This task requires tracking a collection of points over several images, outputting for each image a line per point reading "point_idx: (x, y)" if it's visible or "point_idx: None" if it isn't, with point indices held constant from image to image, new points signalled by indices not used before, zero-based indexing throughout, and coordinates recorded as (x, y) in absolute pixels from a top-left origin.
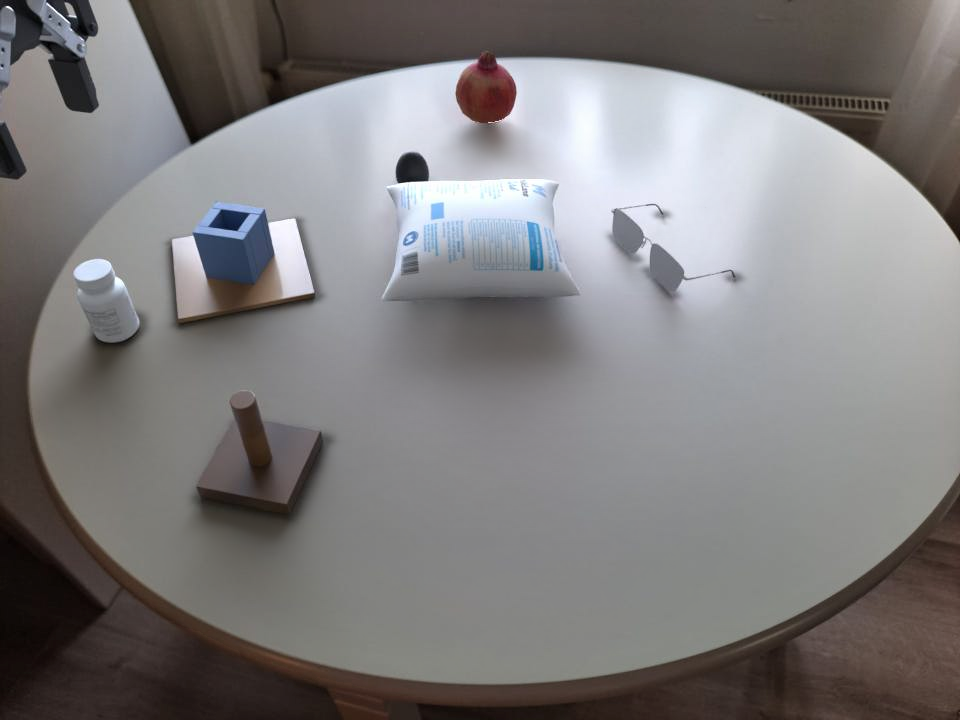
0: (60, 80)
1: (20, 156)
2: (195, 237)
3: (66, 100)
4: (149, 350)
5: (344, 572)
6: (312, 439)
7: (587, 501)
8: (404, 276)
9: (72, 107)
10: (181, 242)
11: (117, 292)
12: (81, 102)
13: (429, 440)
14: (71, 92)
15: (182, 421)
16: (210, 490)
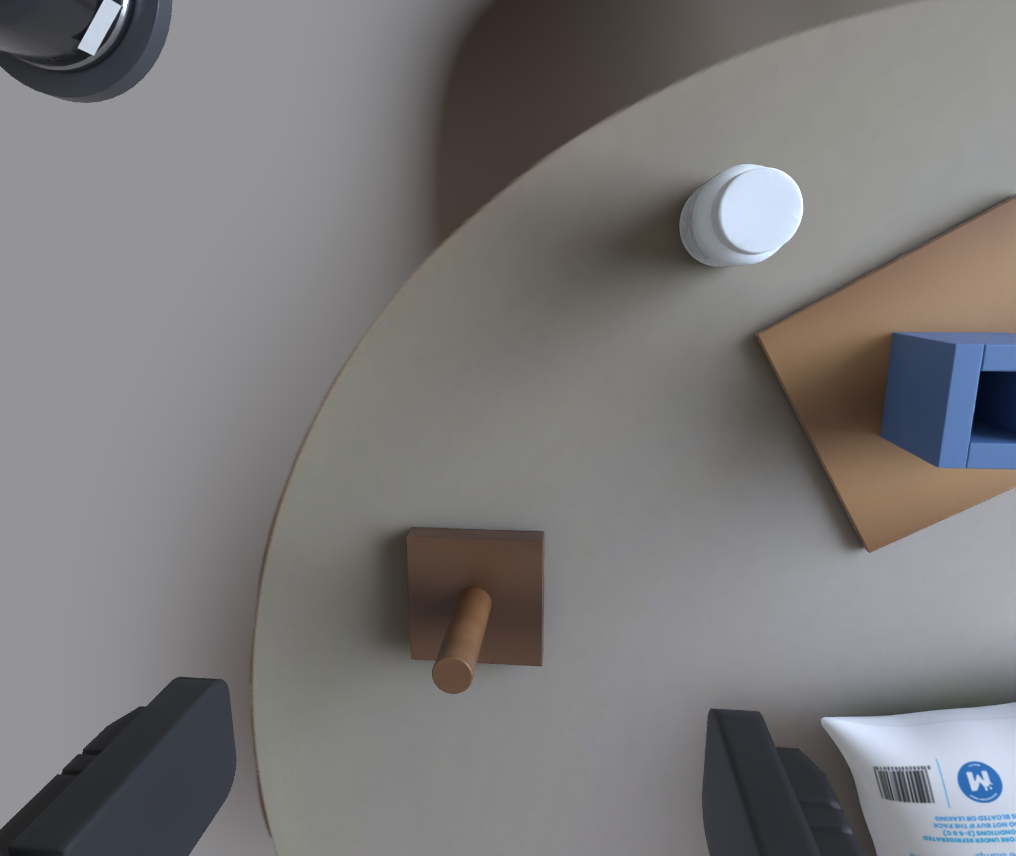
0: (742, 832)
1: (198, 839)
2: (947, 346)
3: (719, 740)
4: (676, 313)
5: (359, 727)
6: (522, 660)
7: None
8: (871, 772)
9: (710, 735)
10: (1013, 221)
11: (739, 260)
12: (712, 810)
13: (575, 782)
14: (725, 816)
15: (533, 443)
16: (407, 555)
